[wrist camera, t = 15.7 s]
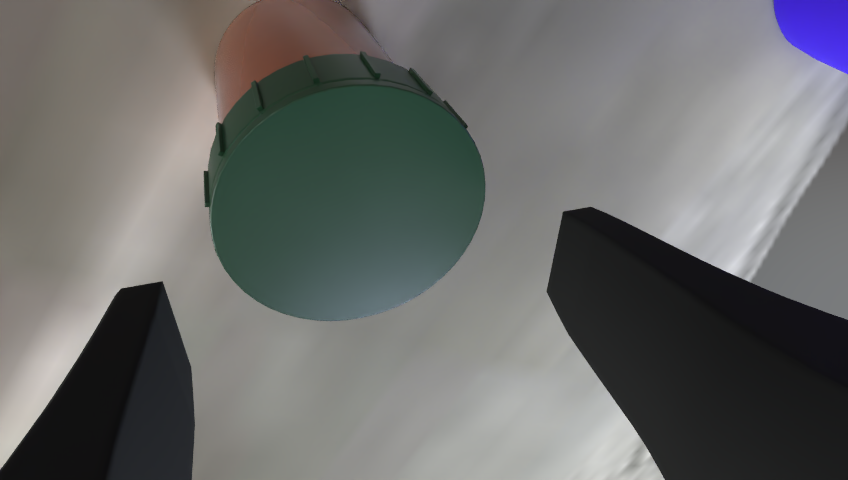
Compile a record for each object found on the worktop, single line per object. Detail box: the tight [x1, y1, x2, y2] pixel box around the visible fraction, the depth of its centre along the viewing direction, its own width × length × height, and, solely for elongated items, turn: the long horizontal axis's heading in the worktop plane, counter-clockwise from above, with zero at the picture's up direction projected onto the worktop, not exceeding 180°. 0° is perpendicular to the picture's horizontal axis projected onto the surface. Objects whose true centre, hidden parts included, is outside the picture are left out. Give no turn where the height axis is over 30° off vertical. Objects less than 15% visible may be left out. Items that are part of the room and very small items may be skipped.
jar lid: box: [204, 51, 485, 321], centre depth 13 cm, size 6×6×2 cm
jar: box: [214, 0, 393, 124], centre depth 15 cm, size 5×5×8 cm
